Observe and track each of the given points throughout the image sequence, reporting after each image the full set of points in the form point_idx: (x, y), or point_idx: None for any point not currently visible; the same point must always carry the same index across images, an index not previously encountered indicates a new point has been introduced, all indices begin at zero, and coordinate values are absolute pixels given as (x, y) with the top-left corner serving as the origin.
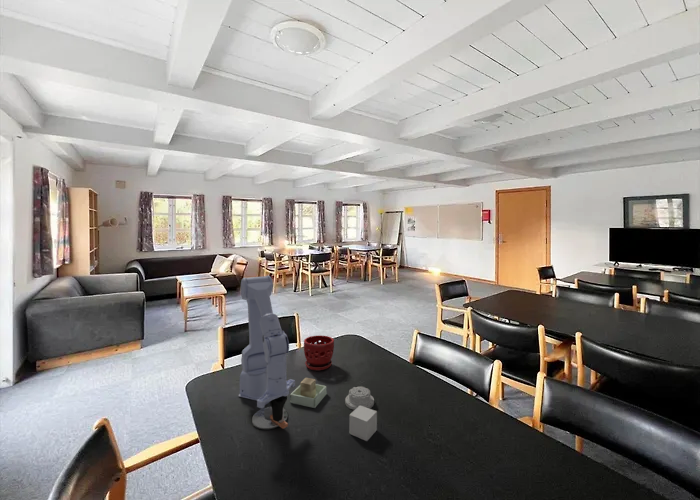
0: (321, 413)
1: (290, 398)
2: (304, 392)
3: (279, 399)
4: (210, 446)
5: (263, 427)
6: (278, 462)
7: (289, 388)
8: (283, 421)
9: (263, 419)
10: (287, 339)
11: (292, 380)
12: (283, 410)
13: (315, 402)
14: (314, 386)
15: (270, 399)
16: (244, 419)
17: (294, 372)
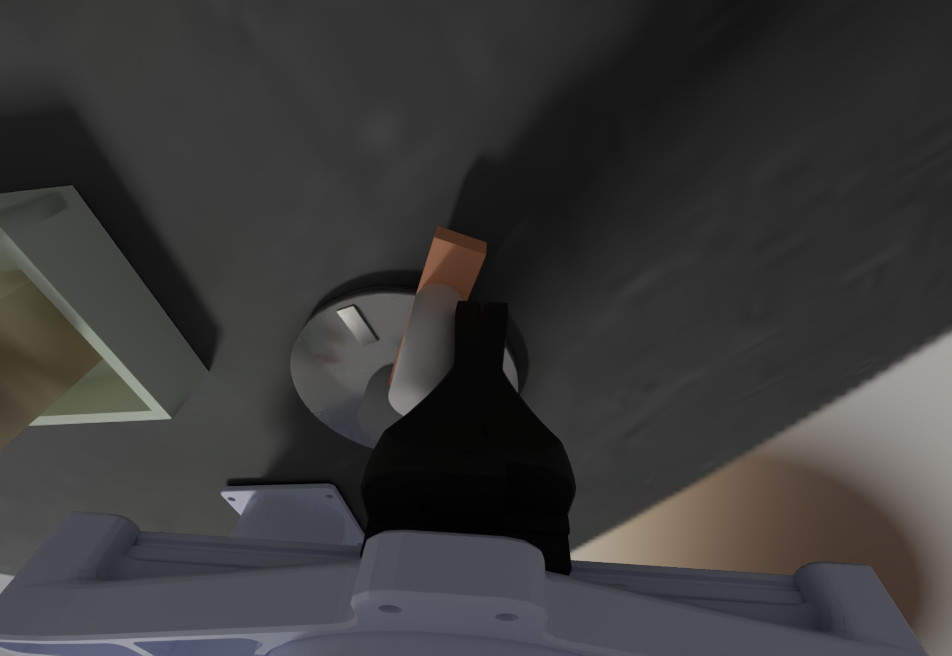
0: (50, 68)
1: (188, 392)
2: (45, 354)
3: (499, 504)
4: (714, 461)
5: (513, 362)
6: (856, 4)
7: (229, 589)
8: (433, 283)
9: None
10: None
11: (24, 645)
12: (413, 348)
13: (17, 204)
14: None
15: (777, 650)
16: None
17: (19, 489)
